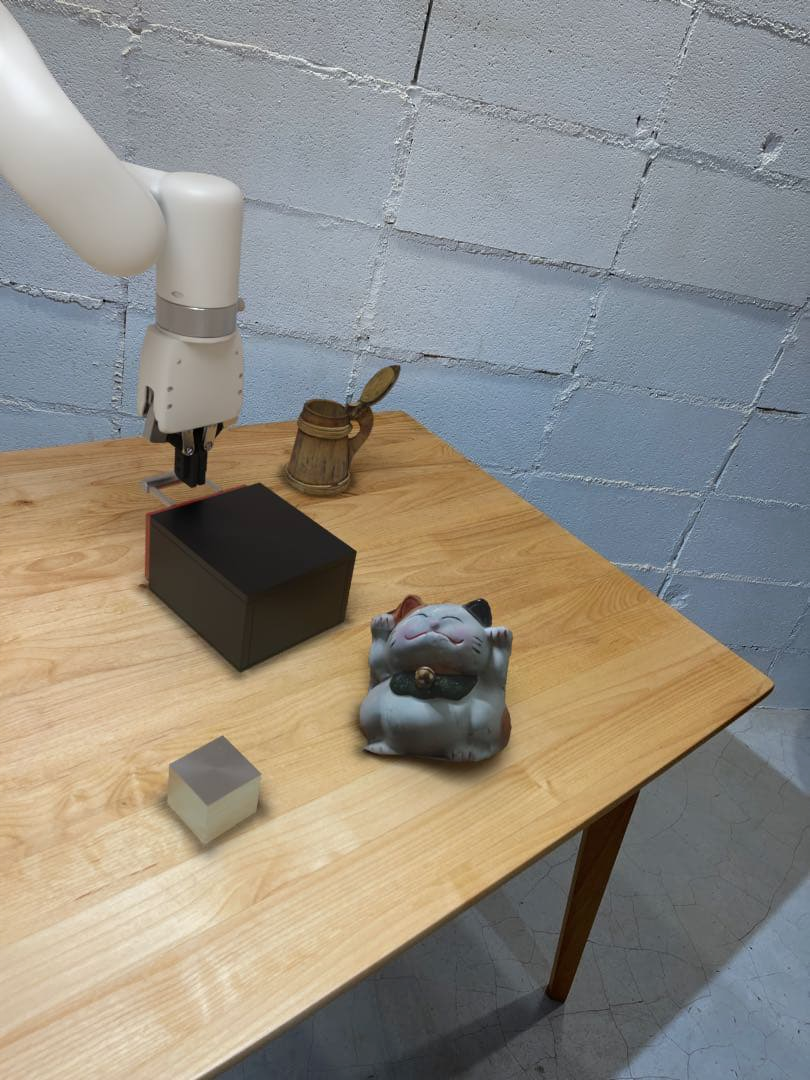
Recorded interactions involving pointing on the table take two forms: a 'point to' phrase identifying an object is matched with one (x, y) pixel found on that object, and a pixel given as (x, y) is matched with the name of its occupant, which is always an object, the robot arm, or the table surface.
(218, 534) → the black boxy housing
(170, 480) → the drawer
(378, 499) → the table surface
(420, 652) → the lucky cat figurine
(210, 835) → the steel block
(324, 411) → the wooden mug
